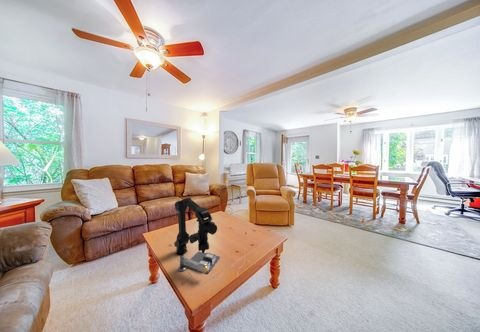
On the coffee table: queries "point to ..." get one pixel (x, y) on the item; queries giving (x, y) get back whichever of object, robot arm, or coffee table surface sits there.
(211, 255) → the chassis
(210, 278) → the coffee table surface
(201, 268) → the cable arm
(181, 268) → the pivot post
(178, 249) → the robot arm
